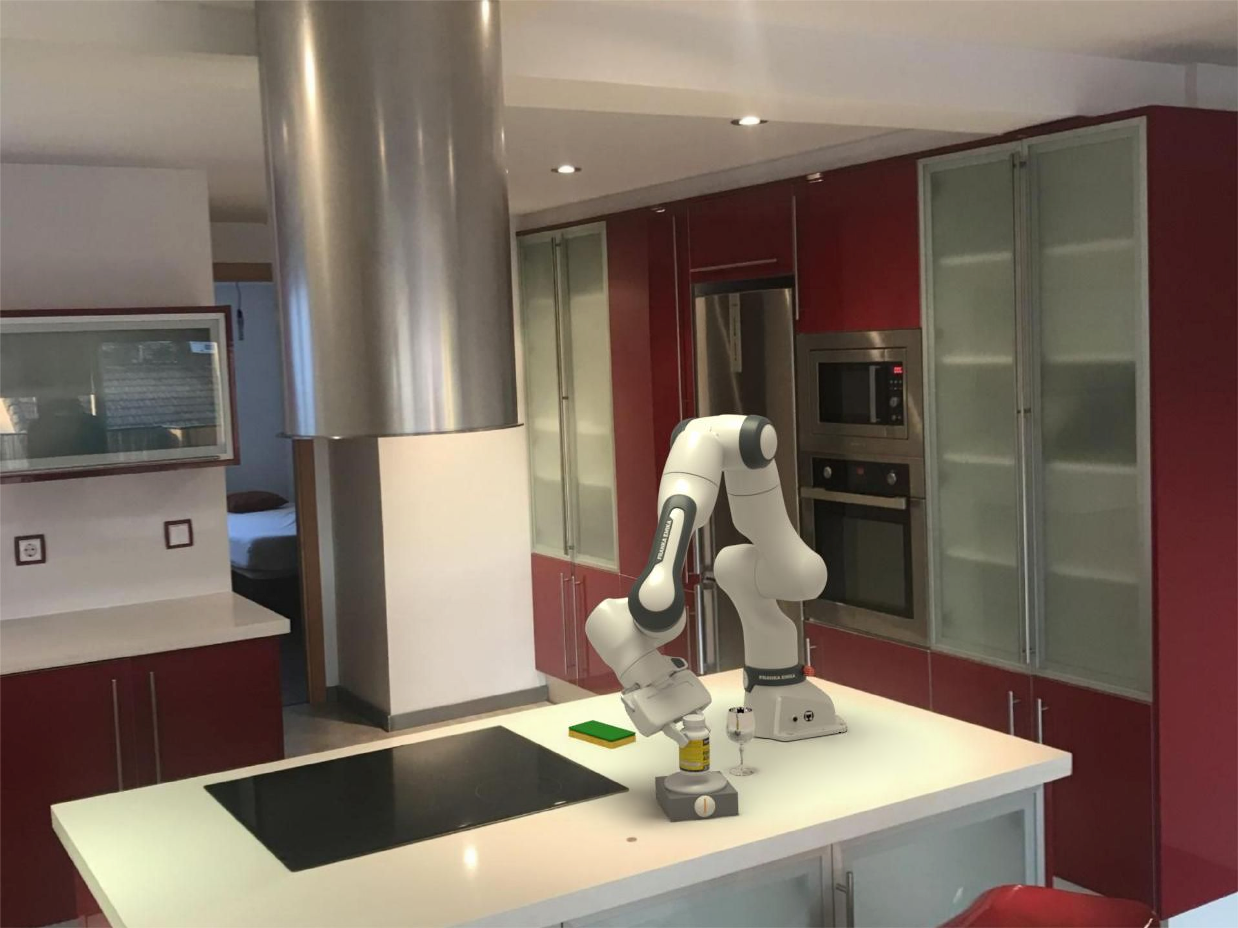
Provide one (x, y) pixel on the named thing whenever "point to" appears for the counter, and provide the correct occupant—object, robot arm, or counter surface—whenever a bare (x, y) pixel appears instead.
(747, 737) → the wineglass
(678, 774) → the kitchen scale
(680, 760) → the supplement bottle
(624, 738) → the dish sponge
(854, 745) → the counter surface
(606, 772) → the counter surface
